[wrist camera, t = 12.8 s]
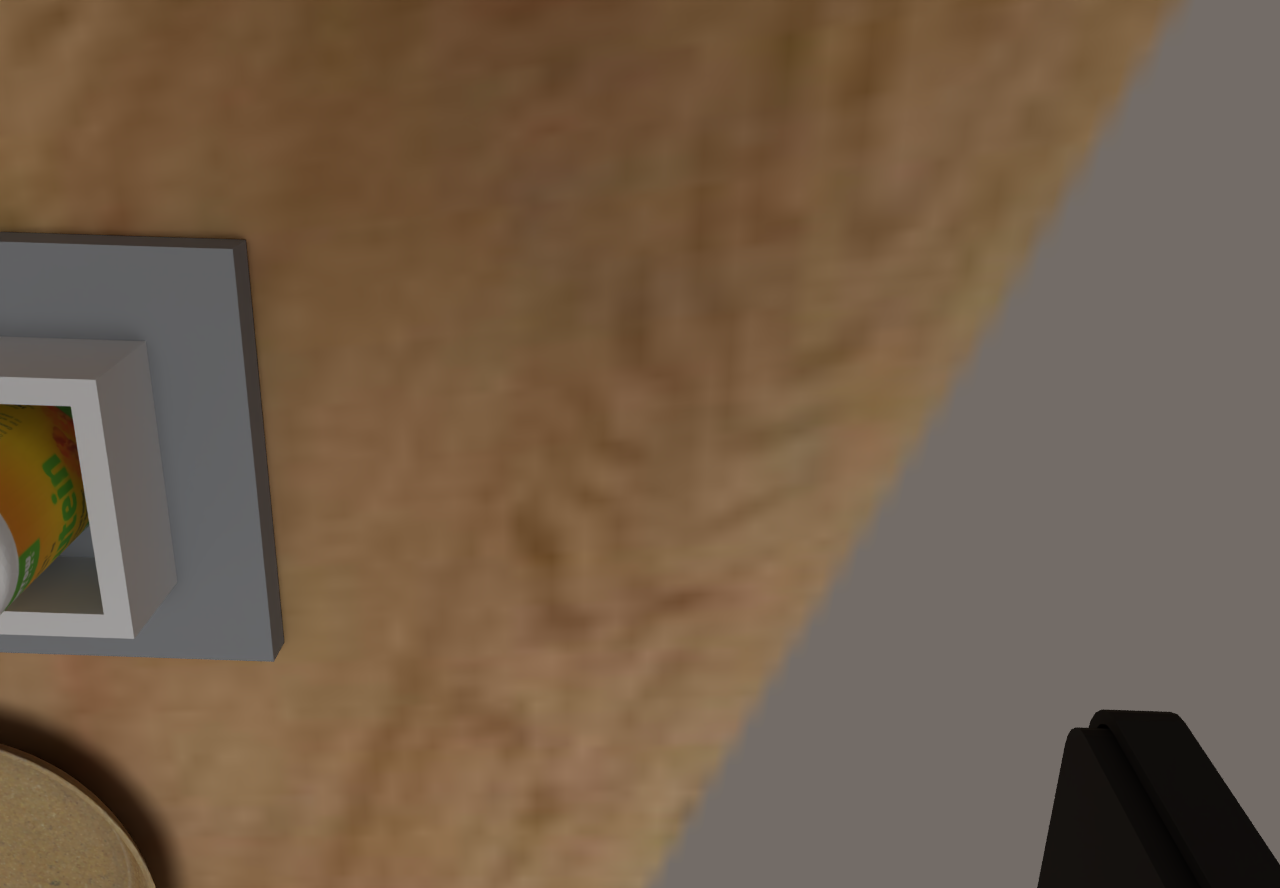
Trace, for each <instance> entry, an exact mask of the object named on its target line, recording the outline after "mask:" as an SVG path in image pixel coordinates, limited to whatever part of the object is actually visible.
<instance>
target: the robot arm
mask: <svg viewBox="0 0 1280 888" xmlns="http://www.w3.org/2000/svg"><path fill="white" fill-rule="evenodd" d="M1037 888H1280V865H1279V863H1278V861H1277V860H1276V858H1275V857H1274V855H1273V854H1272V852H1271V851H1270V849H1269V848H1268V846H1267V845H1266V843H1265V842H1264V840H1263V839H1262V837H1261V836H1260V835H1259V833H1258V831H1257V830H1256V829H1255V827H1254V825H1253V824H1252V822H1251V821H1250V819H1249V818H1248V816H1247V815H1246V814H1245V812H1244V810H1243V809H1242V807H1241V806H1240V804H1239V803H1238V802H1237V800H1236V798H1235V797H1234V796H1233V794H1232V792H1231V791H1230V789H1229V788H1228V786H1227V785H1226V783H1225V782H1224V781H1223V779H1222V778H1221V776H1220V774H1219V773H1218V771H1217V770H1216V768H1215V767H1214V765H1213V764H1212V762H1211V761H1210V759H1209V758H1208V757H1207V755H1206V753H1205V752H1204V750H1203V749H1202V747H1201V746H1200V745H1199V743H1198V742H1197V740H1196V739H1195V737H1194V736H1193V734H1192V732H1191V731H1190V729H1189V728H1188V726H1187V725H1186V723H1185V722H1184V721H1183V720H1182V719H1181V718H1180V717H1179V716H1178V715H1177V714H1175V713H1172V712H1157V711H1155V712H1154V711H1128V710H1127V711H1126V710H1100V711H1098V712H1096V713H1095V715H1094V716H1093V718H1092V719H1091V721H1090V725H1089V728H1074V729H1072V730H1071V731H1070V733H1069V734H1068V736H1067V740H1066V743H1065V748H1064V753H1063V758H1062V764H1061V768H1060V774H1059V779H1058V784H1057V789H1056V794H1055V799H1054V805H1053V810H1052V815H1051V820H1050V825H1049V830H1048V836H1047V841H1046V846H1045V851H1044V856H1043V861H1042V866H1041V872H1040V877H1039V882H1038V887H1037Z"/></svg>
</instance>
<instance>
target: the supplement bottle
mask: <svg viewBox="0 0 1280 888" xmlns="http://www.w3.org/2000/svg"><path fill="white" fill-rule="evenodd" d="M89 525H90V524H89V518H88V511H87V505H86V499H85V492H84V486H83V480H82V473H81V467H80V461H79V455H78V448H77V442H76V436H75V429H74V423H73V417H72V410H71V406H46V405H16V404H0V615H1V614H2V613H3V612H4V611H5V610H6V609H7V608H8V607H9V606H10V605H11V604H12V602H13V601H14V600H15V599H16V598H17V597H18V596H19V595H20V594H21V593H22V592H23V591H24V590H25V589H26V588H27V587H28V586H29V585H30V584H31V583H32V582H33V581H34V580H35V579H36V578H37V577H38V576H39V575H40V574H41V573H42V572H43V571H44V570H45V569H46V568H47V567H48V566H49V565H50V564H51V563H52V562H53V561H54V560H55V559H56V558H57V557H58V556H59V555H60V554H61V553H62V552H63V551H64V550H65V549H66V548H67V547H68V546H69V545H70V544H71V543H72V542H73V541H74V540H75V539H76V538H77V537H78V536H79V535H80V534H81V533H82V532H83V531H84V530H85V529H86V528H87V527H88V526H89Z"/></svg>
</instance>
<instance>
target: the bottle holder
mask: <svg viewBox="0 0 1280 888" xmlns="http://www.w3.org/2000/svg"><path fill="white" fill-rule="evenodd" d="M0 404H16V405H46V406H71V410H72V417H73V423H74V429H75V436H76V442H77V448H78V455H79V461H80V467H81V473H82V480H83V486H84V492H85V499H86V505H87V511H88V518H89V524H90V525H89V526H88V527H87V528H86V529H85V530H84V531H83V532H82V533H81V534H80V535H79V536H78V537H77V538H76V539H75V540H74V541H73V542H72V543H71V544H70V545H69V546H68V547H67V548H66V549H65V550H64V551H63V552H62V553H61V554H60V555H59V556H58V557H57V558H56V559H55V560H54V561H53V562H52V563H51V564H50V565H49V566H48V567H47V568H46V569H45V570H44V571H43V572H42V573H41V574H40V575H39V576H38V577H37V578H36V579H35V580H34V581H33V582H32V583H31V584H30V585H29V586H28V587H27V588H26V589H25V590H24V591H23V592H22V593H21V594H20V595H19V596H18V597H17V598H16V599H15V600H14V601H13V602H12V604H11V605H10V606H9V607H8V608H7V609H6V610H5V611H4V612H3V613H2V614H1V615H0V652H9V653H38V654H68V655H97V656H126V657H156V658H185V659H214V660H243V661H273V662H274V660H275V658H276V657H277V655H278V653H279V651H280V649H281V647H282V645H283V644H284V636H283V626H282V615H281V605H280V594H279V584H278V573H277V563H276V552H275V542H274V531H273V521H272V510H271V500H270V489H269V479H268V468H267V458H266V447H265V437H264V427H263V416H262V406H261V395H260V385H259V374H258V364H257V353H256V343H255V332H254V322H253V311H252V301H251V290H250V280H249V269H248V259H247V248H246V240H235V239H204V238H173V237H142V236H111V235H80V234H49V233H17V232H0Z"/></svg>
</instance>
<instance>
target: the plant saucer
mask: <svg viewBox="0 0 1280 888" xmlns="http://www.w3.org/2000/svg"><path fill="white" fill-rule="evenodd" d="M0 888H156V887H155V884H154V882H153V879H152V876H151V874H150V872H149V869H148V867H147V865H146V862H145V860H144V858H143V857H142V855H141V853H140V851H139V849H138V847H137V846H136V844H135V842H134V841H133V839H132V838H131V836H130V835H129V833H128V832H127V831H126V829H125V828H124V826H123V825H122V824H121V822H120V821H119V820H118V819H117V817H116V816H115V815H114V814H113V813H112V812H111V810H110V809H109V808H108V807H107V806H106V805H105V804H104V803H103V802H102V801H101V800H100V799H99V798H98V797H97V796H96V795H95V794H93V793H92V792H91V791H90V790H89V789H87V788H86V787H85V786H84V785H82V784H81V783H80V782H79V781H77V780H76V779H74V778H73V777H71V776H70V775H69V774H67V773H66V772H64V771H62V770H61V769H59V768H57V767H55V766H54V765H52V764H50V763H48V762H46V761H44V760H42V759H40V758H38V757H36V756H34V755H31V754H29V753H26V752H24V751H21V750H18V749H16V748H13V747H10V746H6V745H3V744H0Z"/></svg>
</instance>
